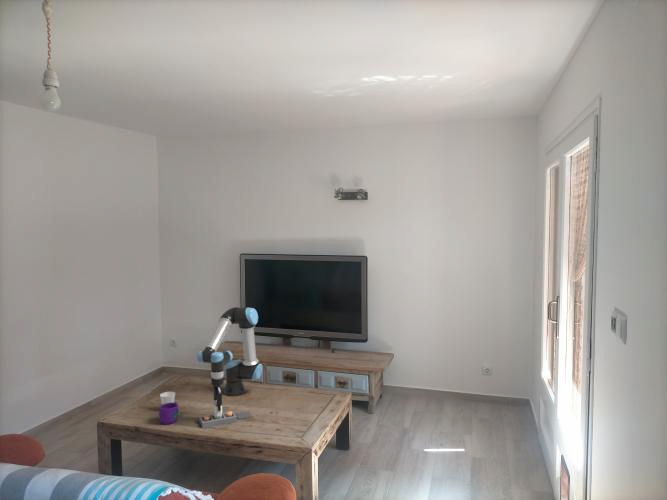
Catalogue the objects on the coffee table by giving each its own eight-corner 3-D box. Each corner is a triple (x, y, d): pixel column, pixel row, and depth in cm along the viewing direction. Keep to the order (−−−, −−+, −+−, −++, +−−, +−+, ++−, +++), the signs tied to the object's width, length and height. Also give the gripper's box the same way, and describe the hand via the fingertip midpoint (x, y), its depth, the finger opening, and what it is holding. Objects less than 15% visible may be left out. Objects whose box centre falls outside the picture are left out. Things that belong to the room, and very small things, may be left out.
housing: (232, 415, 311) (232, 411, 311) (236, 421, 301) (236, 417, 301) (199, 421, 302) (199, 416, 302) (202, 427, 292) (202, 423, 292)
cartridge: (221, 418, 305) (221, 399, 305) (223, 421, 300) (222, 401, 300) (213, 420, 303) (212, 400, 302) (214, 423, 298) (214, 403, 298)
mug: (173, 425, 296) (172, 409, 296) (155, 424, 298) (155, 408, 298) (186, 414, 314) (185, 399, 313) (169, 413, 315) (169, 398, 315)
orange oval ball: (231, 415, 307) (231, 410, 307) (232, 417, 304) (232, 412, 304) (225, 416, 305) (225, 411, 305) (227, 418, 302) (227, 413, 302)
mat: (248, 412, 317) (248, 411, 317) (252, 417, 309) (252, 416, 309) (235, 414, 313) (235, 414, 313) (238, 419, 305) (238, 418, 305)
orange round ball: (209, 419, 301) (209, 414, 301) (210, 421, 298) (210, 416, 298) (203, 420, 299) (203, 415, 299) (204, 422, 296) (204, 417, 296)
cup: (170, 413, 315) (170, 397, 315) (157, 412, 317) (156, 396, 317) (178, 408, 325) (178, 392, 325) (165, 407, 327) (164, 391, 326)
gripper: (208, 374, 307) (209, 410, 308) (214, 382, 291) (215, 420, 292) (220, 372, 310) (220, 408, 311) (226, 380, 294) (227, 418, 295)
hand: (218, 414), depth 301 cm, fingers closed on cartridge, 5 cm apart
